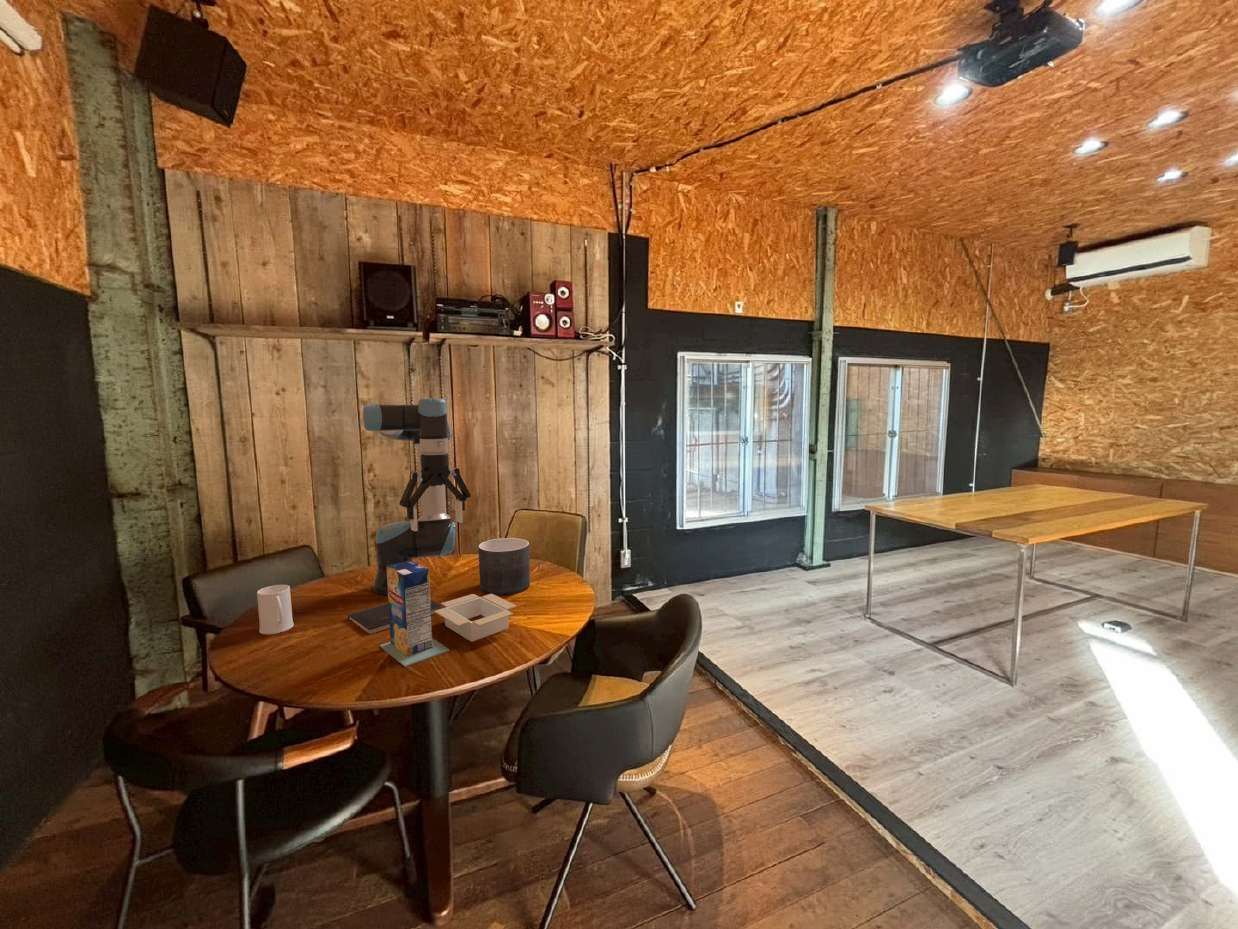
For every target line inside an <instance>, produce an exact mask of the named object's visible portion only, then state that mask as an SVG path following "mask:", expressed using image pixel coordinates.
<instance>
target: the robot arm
mask: <svg viewBox="0 0 1238 929" xmlns="http://www.w3.org/2000/svg"><path fill="white" fill-rule="evenodd" d="M362 409H363V410H362V416H363V417H362V419H363V428H364V429H365V431H369V432H377V433H378V434H379V435H381V436H382V437H384V438H387V439H390V440H395V441H405V442H407V441H412V442H413V447H414V448H416V450H418V466H419V470H418V471H419V472H415V471H411V472H410V473H409V479H408V482H407V485H406V487H405V489H404V492H403V494H402V496H401V499H400V501H399V503H398V504H399V506H400V507H403V508H406V517H407V520H409V521H407V520H406V521H404V520H403V521H397V522H396V521H395V522H391V523H388V524H384V525H382V526H380V527H379V528H378V529H377V530H376V532H375V535H376V536H375V544H376V555H377V556H376V557H377V558H376V559H377V570H376V574H375V578H374V581H373V592H374V594H378V595H382V596H383V595H384V596H388V584H387V566H388V565H393V564H397V563H402V562H406V561H414V559H415V558H416V559H417V558H426V557H433V556H435V557H436V556H439V557H440V556H445V555H449V554H451V553H452V552H453V551H454V549H455V548H454V547H455V540H456V523H455V522H457V523H459V524H463V522H464V521H463V520H464V519H463V516H464V515H463V511H465V509H466V507H465V506H466V501H467V499H468V498H471V496H472V495H471V493H470V490H469V489H468V487H467V485H466V484H465V481H464V480H463V478H462V476H461V471H460V468H458V467H452V468H449V466H450V459H449V458H450V457H449V454H448V451H449V440H451V439H452V433H451V426H450V423H449V422H450V421H449V417H448V407H447V401H446V399H444V398H420V399H418V404H366V405H364V407H363V408H362ZM450 476H452V477H453V479H454V481H455V483H456V484H457V486H458V488H457V487H456V486H455V485H454V484H453V482H452V481H451V480H450V479H449V477H450ZM418 481H419V485H418V486H416V485H417V483H418ZM416 487H417V489H415V488H416ZM446 488H447V489H448V490H449V491H450V492H451V493H452V494H453V496H455V497H456V499H455V522H454V521H452V517H451V516H450V515H449V514H448V513H447V499H446ZM419 500H420V508H421V509H420V510H421V515H420V516H419V518H418V514H417V513H418V511H417V507H415V506H416V505H417V503H418V502H419Z"/></svg>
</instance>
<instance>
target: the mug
mask: <svg viewBox="0 0 1238 929" xmlns="http://www.w3.org/2000/svg"><path fill="white" fill-rule="evenodd" d="M256 595H257V597H256V598H257V599H256V600H257V606H258V607H257V610H258V619H259V621H258V622H259V630H258V631H259V634H262V635H276V634H280V632H281V633H284V632H286V631H289V630H291V629H292V628H294V626H295V625H294V624H295V623H294V620H293V611H292V609H293V608H292V598H291V586H290V585H288V584H274V585H269V586H265V587H262V588H260V589H258V590H257V591H256Z"/></svg>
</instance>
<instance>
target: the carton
mask: <svg viewBox="0 0 1238 929" xmlns="http://www.w3.org/2000/svg"><path fill="white" fill-rule="evenodd" d="M440 605H442V606H443V607H442V609H439V610H436V611H434V612H435V614H437V615H439V616H441V618H442V617H443V619H444V624H445V625H444V626H445V627H447V628H449V630H452V631H453V632H454V633H457V635H459V636H462V637H463V638H465V639H466V640H468V641H470V642H471V643H472V642H475V641H478V640H481V639H483V638H486V637H489V636H492V635H495V634H497V633H500V632H502V631H506V630H509V628H510V626H509V624H510V621H509V617H510V616H513V615H514V613H513V612H511V611H510V609H511V610H512V609H513V608H517V607H518V605H517V604H514V603H512V602H510V601H508V600H506V599H504V598H502V597H500V596H499V595H493V594H485V595H483V596H479V595H477V594H474V593H471V594H467V595H465V596H461V597H457V598H454V599H451V600H447V601H444V602H441V603H440ZM478 616H482V617H481V618H478V619H476V620H472V621H471V620H469V619H472V618H474V617H478Z"/></svg>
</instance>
